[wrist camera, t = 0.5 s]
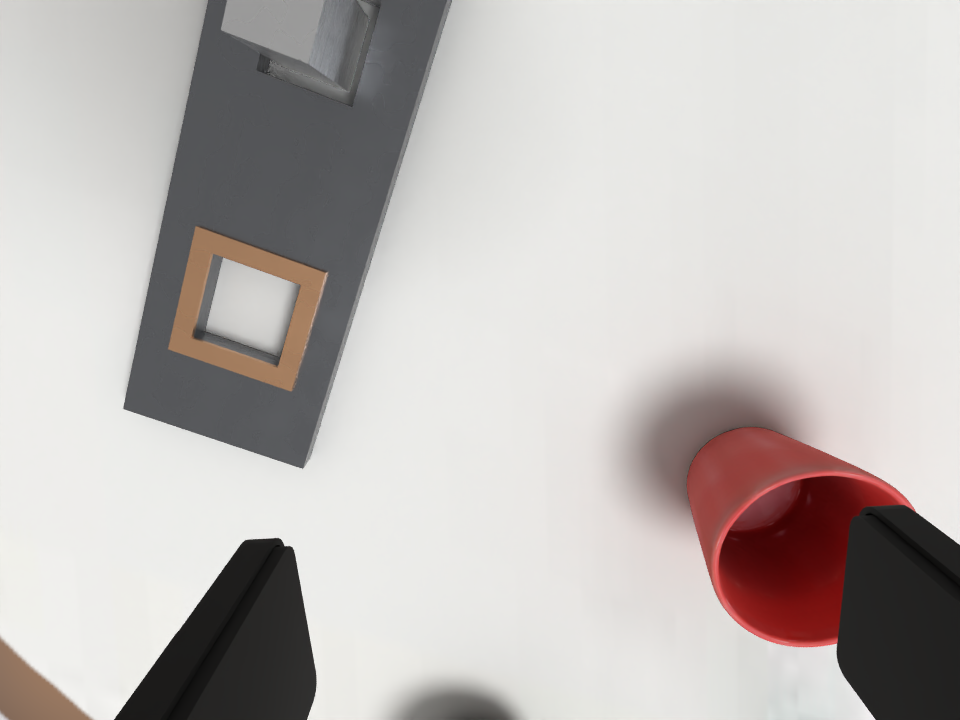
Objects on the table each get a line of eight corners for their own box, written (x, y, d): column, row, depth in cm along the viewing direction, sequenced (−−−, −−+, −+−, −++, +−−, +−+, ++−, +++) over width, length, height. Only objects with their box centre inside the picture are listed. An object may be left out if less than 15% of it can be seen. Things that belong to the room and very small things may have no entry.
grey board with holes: (261, -182, 31) (247, -205, 29) (480, -92, 31) (479, -108, 30) (136, 400, 40) (120, 410, 38) (309, 458, 40) (301, 470, 39)
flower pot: (706, 379, 38) (775, 439, 29) (856, 438, 39) (969, 515, 30) (635, 514, 41) (677, 609, 32) (776, 567, 42) (857, 674, 33)
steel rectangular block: (300, -8, 33) (242, -70, 25) (370, 19, 33) (333, -33, 25) (282, 67, 34) (220, 30, 26) (349, 92, 34) (308, 63, 26)
